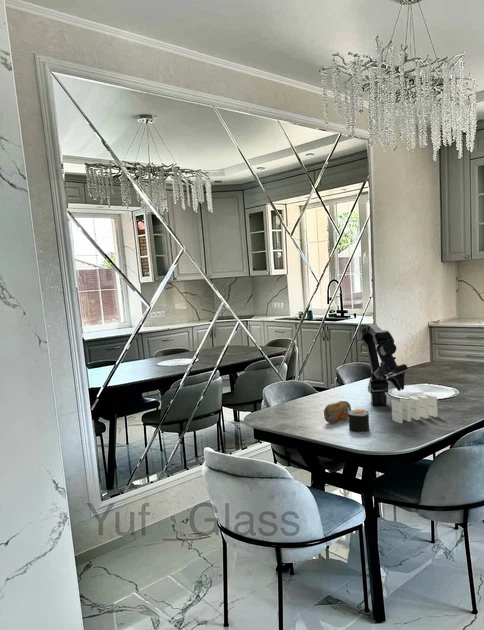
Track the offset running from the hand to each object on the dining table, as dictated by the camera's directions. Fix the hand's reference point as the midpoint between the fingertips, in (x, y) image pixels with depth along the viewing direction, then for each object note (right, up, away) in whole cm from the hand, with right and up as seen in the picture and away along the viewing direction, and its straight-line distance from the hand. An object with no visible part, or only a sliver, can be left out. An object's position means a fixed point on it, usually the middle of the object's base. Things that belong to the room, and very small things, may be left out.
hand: (401, 390), depth 216 cm
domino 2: (-1, -12, -8) cm, 14 cm away
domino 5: (+12, -11, -4) cm, 17 cm away
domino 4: (+8, -11, -5) cm, 15 cm away
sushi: (-23, -14, -17) cm, 32 cm away
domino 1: (-5, -12, -9) cm, 16 cm away
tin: (-29, -13, -3) cm, 32 cm away
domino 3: (+4, -11, -6) cm, 14 cm away
